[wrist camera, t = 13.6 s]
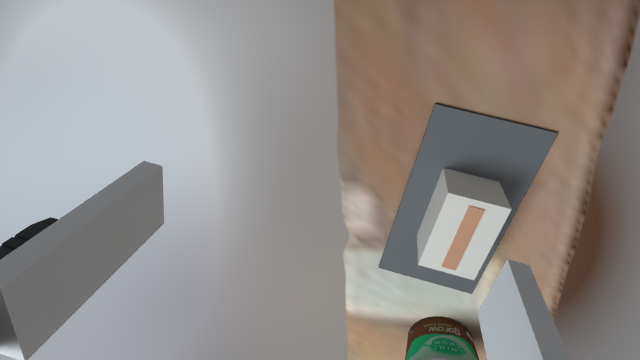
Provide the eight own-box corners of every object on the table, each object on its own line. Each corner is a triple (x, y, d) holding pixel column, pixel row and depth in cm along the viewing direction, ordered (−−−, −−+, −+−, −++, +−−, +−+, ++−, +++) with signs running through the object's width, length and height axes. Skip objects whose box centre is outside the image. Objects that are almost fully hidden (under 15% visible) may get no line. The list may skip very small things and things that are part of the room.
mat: (435, 103, 41) (435, 104, 41) (556, 132, 40) (557, 133, 40) (378, 265, 53) (378, 267, 53) (471, 291, 52) (471, 293, 52)
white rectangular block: (467, 248, 48) (474, 281, 43) (416, 234, 49) (418, 265, 44) (499, 181, 43) (512, 210, 38) (443, 167, 44) (448, 193, 39)
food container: (480, 309, 53) (494, 373, 44) (483, 340, 56) (497, 406, 47) (392, 311, 57) (389, 371, 48) (398, 340, 59) (397, 402, 50)
